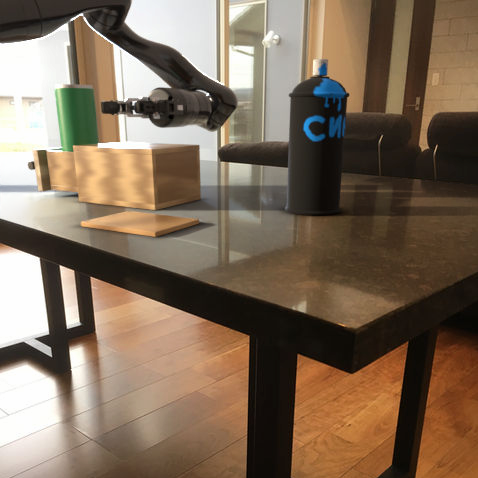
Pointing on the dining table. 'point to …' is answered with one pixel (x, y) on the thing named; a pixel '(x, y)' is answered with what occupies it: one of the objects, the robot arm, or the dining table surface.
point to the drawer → (54, 169)
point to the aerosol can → (316, 144)
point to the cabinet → (138, 174)
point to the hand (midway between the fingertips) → (119, 107)
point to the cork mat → (140, 223)
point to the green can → (76, 115)
